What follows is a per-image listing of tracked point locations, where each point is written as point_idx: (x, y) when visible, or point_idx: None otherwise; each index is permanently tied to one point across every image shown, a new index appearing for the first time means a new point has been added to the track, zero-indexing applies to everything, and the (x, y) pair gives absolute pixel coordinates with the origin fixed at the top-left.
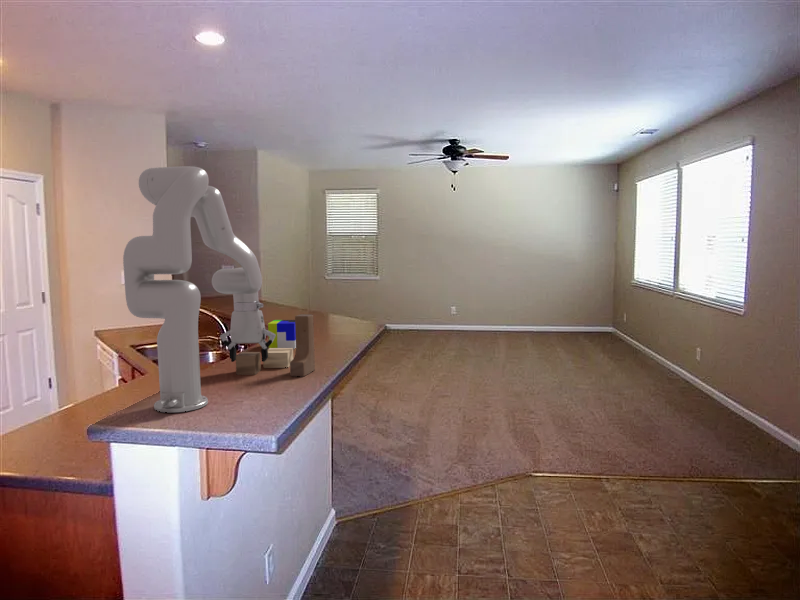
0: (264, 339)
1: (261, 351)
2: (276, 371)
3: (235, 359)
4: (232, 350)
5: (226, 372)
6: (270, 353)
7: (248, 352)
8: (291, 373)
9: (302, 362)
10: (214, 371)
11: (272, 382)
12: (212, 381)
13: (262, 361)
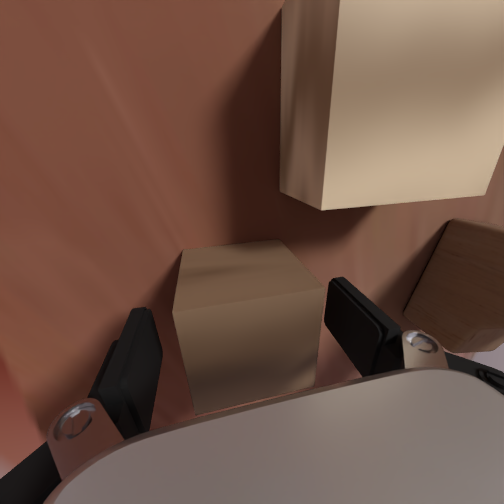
0: (459, 378)
1: (359, 369)
2: (351, 254)
3: (154, 329)
4: (144, 432)
5: (122, 302)
6: (372, 203)
7: (238, 316)
8: (413, 321)
9: (491, 350)
10: (30, 294)
11: (352, 377)
12: (156, 415)
13: (326, 320)
